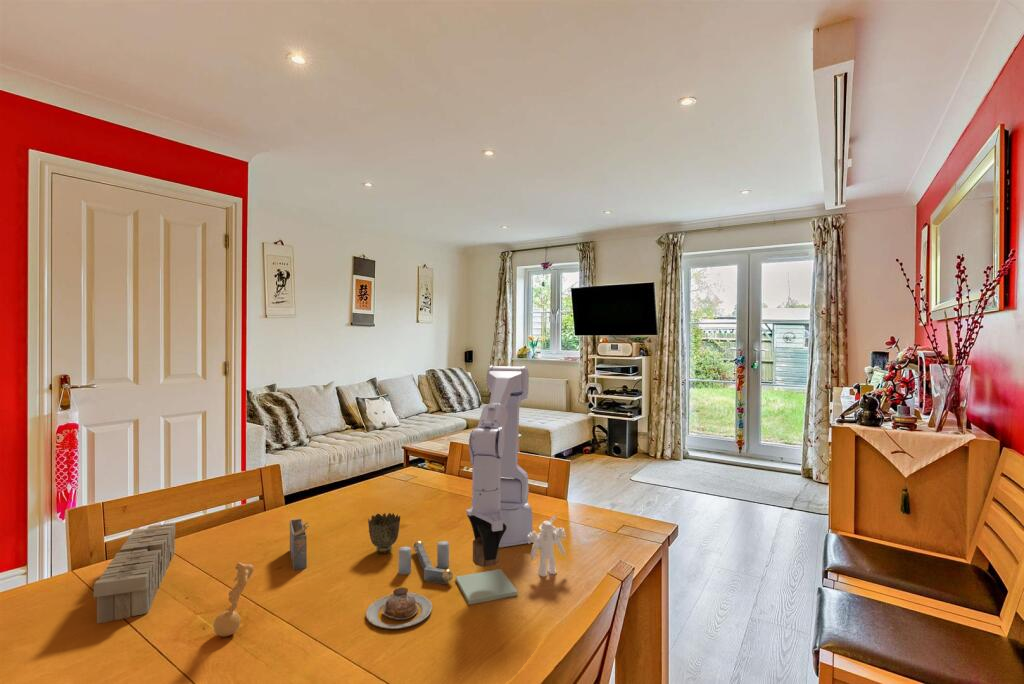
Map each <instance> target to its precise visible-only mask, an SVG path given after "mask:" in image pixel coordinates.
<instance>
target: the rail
mask: <svg viewBox="0 0 1024 684" xmlns="http://www.w3.org/2000/svg"><path fill="white" fill-rule="evenodd" d="M424 546H425V545H424V542H423V541H421V540H416V541H415V542H414V544H413V549H414V551H415V552H416V557H417V559H418V561H419V564H420V566H421V568H422V571H423V581H424V582H427V583H434V584H440V585H445V586H446V585H447V584H448V583H449V582H451V581H452V579H453V577H454V573H453V571H452V570H451V569H450V568H449V569H447V568H438V567H434V566H433V564H432V562H431V560H430V558H429V555H428V554H427V552H426V550H425V547H424Z"/></svg>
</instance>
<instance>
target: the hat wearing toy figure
mask: <svg viewBox="0 0 1024 684" xmlns="http://www.w3.org/2000/svg"><path fill="white" fill-rule="evenodd" d="M556 518H557V514H555V515H554V516H553V517H550V518H549V520H544V521H543V522H542V523H541V524H539V526H538V528H539V530H540V531H539V532H537V531H535V530H533V532H532V533H531V532H530V533H529V534H528V535H527V538H528V539H529V540H530V542H531V541H532V543H533V545H532V546H531V551H530V560H532V562H533V561H535V560H536V559H535V556H536V557H539V567H538V570H537V571H538V575H539V576H541V577H543V578H544V577H547V576H548V573H549V574H551V575H556V574H557V573H558V571H557V569H556V561H555V560H556V559H555V553H554V546H555V544H556V546H557V547H558V554H561V553H562V557H564V556H565V555H566V550H565V548H564V546H563V544H562V542H563V541H565V539H566V538H567V535H566V529H565V528H564V527H556V526H554V525H553V523H554V521H557V520H556ZM530 542H529V541H528V543H527V544H528V545H530V544H531V543H530ZM537 550H539V551H540V552H539V554H538V552H537ZM547 560H548V564H547Z"/></svg>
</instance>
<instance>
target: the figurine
mask: <svg viewBox="0 0 1024 684" xmlns="http://www.w3.org/2000/svg"><path fill="white" fill-rule="evenodd" d="M235 570H236V571H237V572H236V576H235V578H234V579H233V582H237V583H236V584H235V585H234V586H233V587H232V589H230V591H229V592H228V602H229V603H231V605H230V606H229V607H227V608H226V609H225V610H224V611H222V612H221V613H219V614H218V616H217V617H216V618H215V619H214V622H213V631H214V633H215V634H216V635H218V636H219V637H229V636H231V635H233V634H234V633H235V632H237V630H238V628H239V627H240V625H241V615H240V614H239V612H238V611H236V608H237V607H238V601H239V599H240V596H241V595H242V592H243V591H244V590H245V587H246V585H247V583H248V580H249V579H250V578H251V576H252V575H253V573H254V565H252V564H251V563H242V562H237V563H236V564H235Z"/></svg>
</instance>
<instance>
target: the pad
mask: <svg viewBox="0 0 1024 684" xmlns="http://www.w3.org/2000/svg"><path fill="white" fill-rule="evenodd" d="M455 581H456V583H457V585H458V587H459V589H460V590H461V592H462V595H463V596H464V598H465V600H466V602H467V604H468V605H474V604H479V603H485V602H490V601H494V600H501V599H504V598H505V599H506V598H511V597H515V596H518V590H517V588H516V587H515V586H514V585H513V583H512V582H511V581H510V579H509V578H508V577H507V575H506V574H505V573H504V572H503V570H502V569H501V568H497V569H493V570H487V571H482V572H481V571H480V572H475V573H470V574H463V575H457V576H455Z"/></svg>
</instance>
